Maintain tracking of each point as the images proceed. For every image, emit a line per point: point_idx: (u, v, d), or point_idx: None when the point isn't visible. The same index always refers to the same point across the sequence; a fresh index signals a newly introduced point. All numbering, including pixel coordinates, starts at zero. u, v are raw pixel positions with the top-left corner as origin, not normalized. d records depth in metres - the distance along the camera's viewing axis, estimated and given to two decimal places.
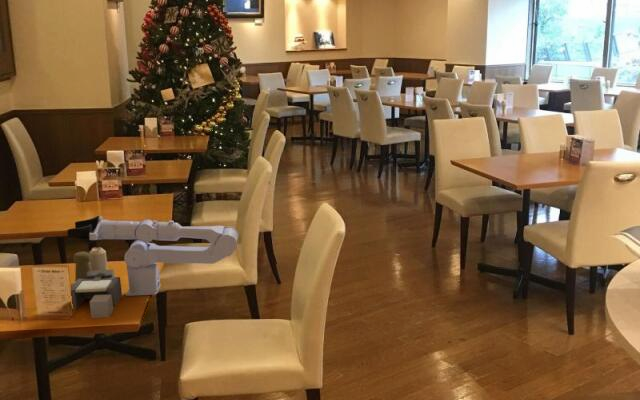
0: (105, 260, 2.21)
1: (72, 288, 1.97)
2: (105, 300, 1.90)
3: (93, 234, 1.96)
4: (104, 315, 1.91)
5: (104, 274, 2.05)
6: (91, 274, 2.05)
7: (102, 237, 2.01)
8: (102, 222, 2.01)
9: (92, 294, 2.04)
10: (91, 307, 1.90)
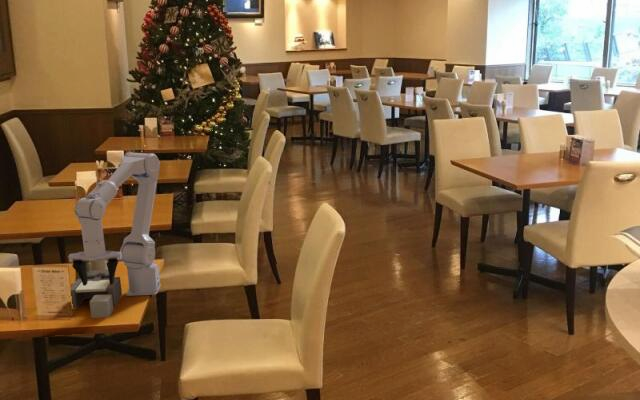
0: (105, 260, 2.21)
1: (72, 288, 1.97)
2: (105, 300, 1.90)
3: (120, 255, 1.88)
4: (104, 315, 1.91)
5: (104, 274, 2.05)
6: (91, 274, 2.05)
7: None
8: (96, 255, 1.86)
9: (92, 294, 2.04)
10: (91, 307, 1.90)
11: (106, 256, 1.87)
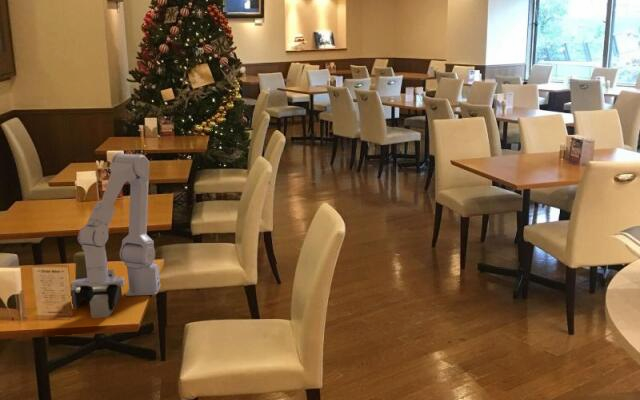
0: None
1: (72, 288, 1.97)
2: (105, 300, 1.90)
3: (123, 282, 1.90)
4: (104, 315, 1.91)
5: None
6: None
7: None
8: (99, 281, 1.88)
9: None
10: (91, 307, 1.90)
11: (109, 282, 1.89)
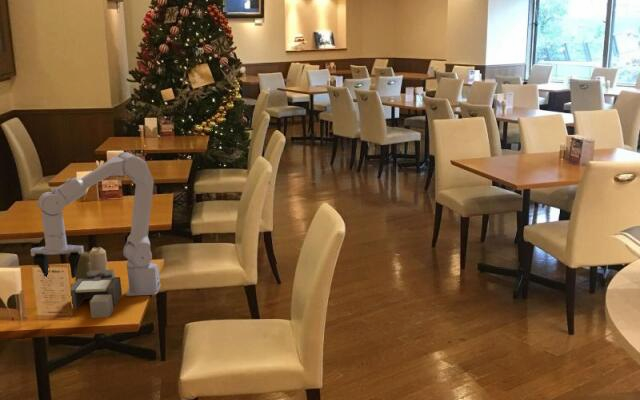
0: (105, 260, 2.21)
1: (72, 288, 1.97)
2: (105, 300, 1.90)
3: (81, 249, 1.91)
4: (104, 315, 1.91)
5: (104, 274, 2.05)
6: (91, 274, 2.05)
7: None
8: (57, 249, 1.89)
9: (92, 294, 2.04)
10: (91, 307, 1.90)
11: (67, 250, 1.90)
